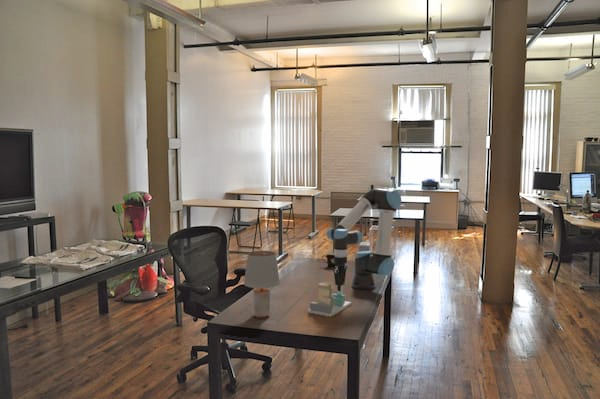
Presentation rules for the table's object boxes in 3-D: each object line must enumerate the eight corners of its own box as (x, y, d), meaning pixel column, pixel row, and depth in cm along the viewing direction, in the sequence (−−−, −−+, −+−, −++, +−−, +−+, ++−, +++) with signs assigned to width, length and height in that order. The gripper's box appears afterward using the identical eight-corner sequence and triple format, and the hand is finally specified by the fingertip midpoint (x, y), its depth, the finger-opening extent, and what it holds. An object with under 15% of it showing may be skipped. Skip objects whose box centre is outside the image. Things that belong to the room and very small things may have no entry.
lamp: (266, 324, 246) (265, 259, 243) (237, 318, 256) (236, 254, 253) (286, 314, 262) (286, 252, 259) (258, 308, 272) (258, 248, 269)
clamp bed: (329, 300, 287) (329, 291, 286) (351, 304, 280) (351, 295, 279) (308, 312, 266) (308, 302, 265) (330, 317, 258) (330, 306, 258)
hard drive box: (368, 272, 354) (369, 245, 352) (358, 272, 355) (358, 245, 353) (369, 267, 369) (370, 241, 367) (359, 267, 370) (360, 241, 368)
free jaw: (329, 299, 284) (329, 292, 284) (348, 302, 278) (348, 295, 278) (322, 303, 277) (322, 296, 277) (341, 306, 271) (341, 299, 271)
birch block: (323, 305, 272) (323, 281, 271) (333, 307, 269) (333, 282, 268) (318, 308, 267) (318, 283, 266) (328, 310, 264) (328, 285, 263)
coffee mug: (338, 265, 375) (339, 253, 374) (336, 268, 367) (336, 255, 366) (324, 264, 379) (324, 252, 378) (321, 267, 371) (321, 254, 370)
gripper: (339, 253, 288) (339, 292, 290) (329, 257, 277) (328, 297, 279) (351, 254, 284) (350, 294, 286) (341, 258, 273) (340, 299, 275)
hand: (339, 295), depth 282 cm, fingers closed
